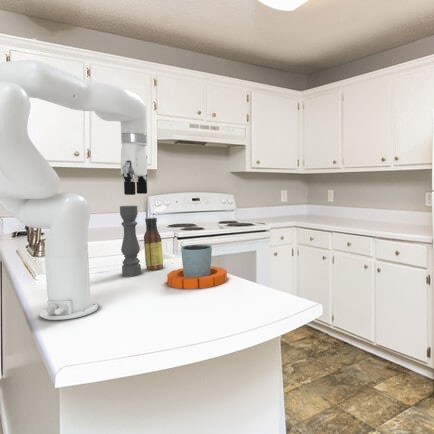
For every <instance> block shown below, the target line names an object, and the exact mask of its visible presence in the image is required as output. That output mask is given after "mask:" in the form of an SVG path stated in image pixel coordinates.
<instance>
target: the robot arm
mask: <svg viewBox="0 0 434 434" xmlns="http://www.w3.org/2000/svg"><path fill="white" fill-rule="evenodd" d="M31 99H38V100H41V101H45V102H48V103H51V104H54V105H57V106H60V107H64V108H67V109H70V110H74V111H82V112H94V113H95V115H96V116H97V117H98V118H99V119H101V120H103V121H106V122H119V123H120V139H121V140H120V141H121V142H120V143H121V149H120V150H121V151H120V174H121V175H122V177H123V179H122V180H123V181H122V182H123V194H124V195H126V196H135V195H136V194H137V195H139V194H140V195H147V194H148V178H147V177H148V158H147V148H146V147H147V146H148V121H147V118H148V117H147V116H148V115H147V105H146V103H145V102H144V101H143V100H142V98H141V97H140V96H139V95H138V94H137V93H134V92H133V91H130V90H127V89H125V88H122V87H119V86H117V85H113V84H112V85H111V84H108V83H103V82H99V81H96V80H91V79H86V78H82V77H79V76H76V75H74V74H72V73H70V72H67V71H64V70H62V69H59V68H57V67H55V66H53V65H50V64H47V63H45V62H43V61H38V60H35V59H22V60H21V59H20V60H9V61H8V60H7V61H1V62H0V205H1V206H3V208H4V209H6V210H7V211H8V213H10V214H11V215H12V216H13V217H14V218H15V219H16V221H18V222H19V223H21V224H22V225H24V226H25V227H27V228H28V227H29V228H32V229H43V230H49V232H48V235H47V237H46V239H45V241H44V243H45V244H44V249H43V251H44V261H45V262H44V263H45V278H46V291H47V293H46V294H47V306H46V307H45V308H43V309H41V310H39V317H41V318H43V319H44V320H50V321H61V320H62V321H63V320H71V319H77V318H80V317H81V318H82V317H85V316H89V315H90V314H92V313H95V312H96V311H97V310H98V307H99V306H98V302H96V301H92V300H91V299H92V297H91V280H90V279H91V278H90V264H89V261H90V260H89V249H88V248H89V246H88V245H89V244H88V235H89V234H88V233H89V224H90V219H91V207H90V204H89V202H88V201H87V200H86V198H85V197H83V196H82V195H79V194H78V193H73V192H60V189H61V185H62V184H61V179H60V177H59V175H58V173H57V171H56V170H55V169H54V168H53V166H51V165H50V163H49V162H48V160H47V159H46V158H45V157H44V156H43V154H42V153H41V152H40V151H39V150H38V149H37V147H36V146H35V144H34V143H33V142H32V140H31V138H30V136H29V132H28V123H29V117H30V113H31ZM135 179H136V180H137V181H135Z"/></svg>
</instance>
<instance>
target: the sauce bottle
mask: <svg viewBox="0 0 434 434" xmlns="http://www.w3.org/2000/svg"><path fill="white" fill-rule="evenodd" d="M144 222H145V233H144V235H143V248H144V258H145V259H144V260H145V266H146V267H145V268H146V270H148V271H156V270H157V271H158V270H161V269H163V268H164V255H163V245H162V244H163V243H162V236H161V234H160V233H159V231H158V224H157V222H158V218H157V217H154V216H153V217H152V216H151V217H145V219H144Z"/></svg>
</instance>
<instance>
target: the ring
mask: <svg viewBox="0 0 434 434" xmlns="http://www.w3.org/2000/svg"><path fill="white" fill-rule="evenodd" d="M210 267H211V271H210V276H204V277H184V274H183V267H181V268H178V269H174V270H171V271H170V272H169V273H167V274H166V277H167V278H166V281H167V282H166V283H167V285H168V286H169V287H172V288H175V289H184V290H196V289H206V288H212V287H216V286H219V285H222V284H224V283H226V281H227V280H228V272H227V271H228V270H227V269H225V268H223V267H218V266H212V265H211V266H210Z"/></svg>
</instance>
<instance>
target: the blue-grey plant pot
mask: <svg viewBox="0 0 434 434" xmlns="http://www.w3.org/2000/svg"><path fill="white" fill-rule="evenodd" d="M180 252H181V263H182V268H183V274H184V277H204V276H210V271H211V266H212V253H213V246H212V245H209V244H201V243H200V244H199V243H198V244H188V245H183V246H181V247H180Z"/></svg>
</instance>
